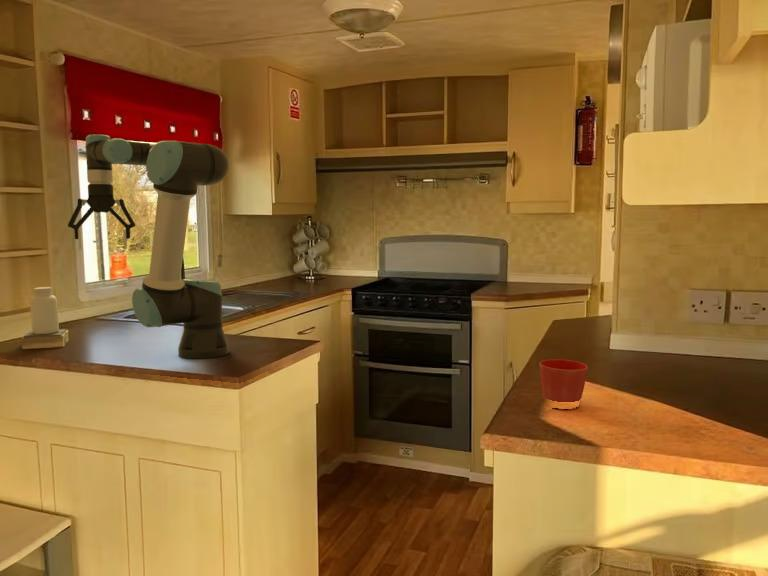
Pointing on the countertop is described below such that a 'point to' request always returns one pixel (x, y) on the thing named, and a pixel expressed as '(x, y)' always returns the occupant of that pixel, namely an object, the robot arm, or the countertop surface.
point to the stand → (45, 339)
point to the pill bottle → (44, 311)
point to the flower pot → (563, 380)
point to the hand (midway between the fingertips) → (103, 249)
